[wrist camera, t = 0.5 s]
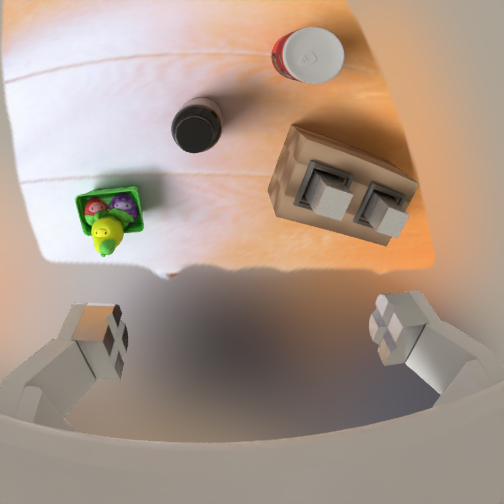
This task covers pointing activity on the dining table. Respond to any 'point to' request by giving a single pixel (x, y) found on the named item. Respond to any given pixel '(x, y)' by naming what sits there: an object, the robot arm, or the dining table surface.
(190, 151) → the supplement bottle
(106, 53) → the dining table surface
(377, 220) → the peg
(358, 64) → the dining table surface
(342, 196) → the peg
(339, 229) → the socket block
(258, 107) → the dining table surface
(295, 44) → the canned food
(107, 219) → the fruit basket
